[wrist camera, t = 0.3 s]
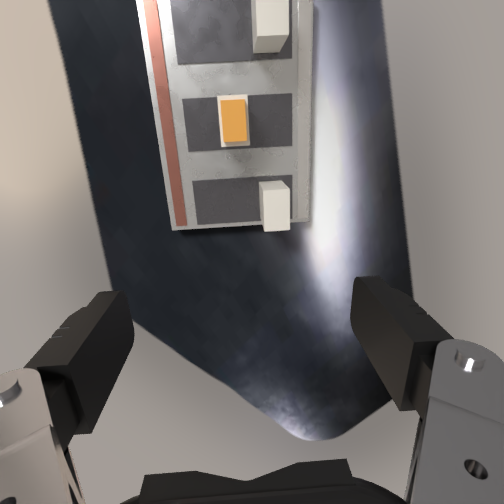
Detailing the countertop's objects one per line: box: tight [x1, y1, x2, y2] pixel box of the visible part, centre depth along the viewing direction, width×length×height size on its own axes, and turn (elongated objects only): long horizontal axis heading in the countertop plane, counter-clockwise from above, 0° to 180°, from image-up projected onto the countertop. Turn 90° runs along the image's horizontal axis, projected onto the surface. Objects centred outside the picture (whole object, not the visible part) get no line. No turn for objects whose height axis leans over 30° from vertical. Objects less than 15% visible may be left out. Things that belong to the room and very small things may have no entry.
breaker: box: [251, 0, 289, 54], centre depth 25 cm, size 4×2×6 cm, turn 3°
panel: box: [136, 0, 313, 230], centre depth 32 cm, size 22×16×2 cm
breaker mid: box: [217, 94, 250, 147], centre depth 28 cm, size 4×2×6 cm, turn 3°
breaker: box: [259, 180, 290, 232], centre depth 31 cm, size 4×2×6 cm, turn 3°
